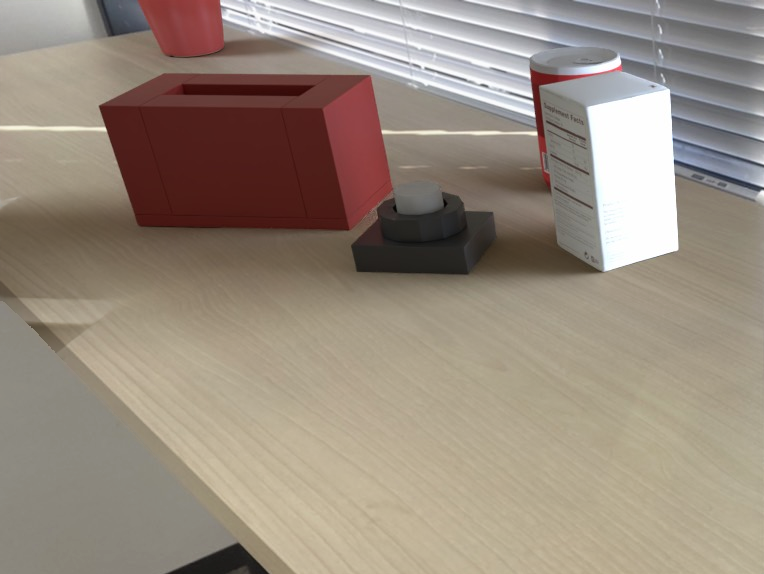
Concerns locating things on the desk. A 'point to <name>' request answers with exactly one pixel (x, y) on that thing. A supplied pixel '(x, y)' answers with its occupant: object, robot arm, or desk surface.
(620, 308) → the desk surface
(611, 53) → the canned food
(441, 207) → the button
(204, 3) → the flower pot
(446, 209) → the button block
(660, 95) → the white packaging box
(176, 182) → the toaster
